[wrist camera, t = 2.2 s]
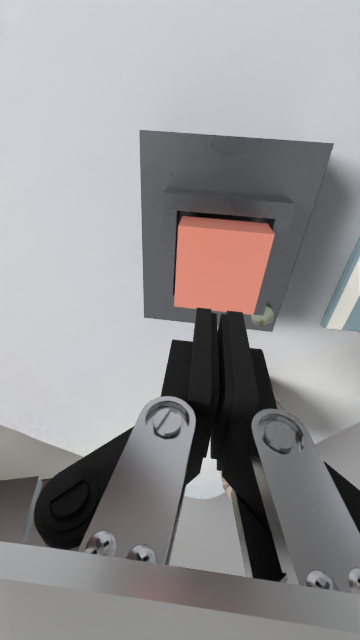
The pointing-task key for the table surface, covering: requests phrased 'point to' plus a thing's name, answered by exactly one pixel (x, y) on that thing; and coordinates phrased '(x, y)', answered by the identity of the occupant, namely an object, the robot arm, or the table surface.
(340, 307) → the mat
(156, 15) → the table surface
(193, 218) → the button
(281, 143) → the breaker box
